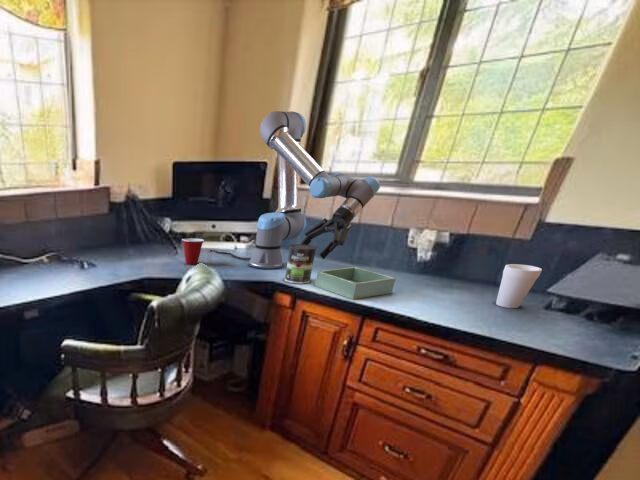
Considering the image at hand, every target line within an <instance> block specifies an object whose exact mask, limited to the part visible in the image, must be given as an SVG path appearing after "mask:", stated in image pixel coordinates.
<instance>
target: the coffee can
mask: <svg viewBox="0 0 640 480" xmlns="http://www.w3.org/2000/svg"><path fill="white" fill-rule="evenodd" d="M288 250H289V251H288V256H287V263H286V269H285V276H284V282H287V283H289V284H297V285H303V284H308V283H310V281H311V276H312V270H313V266H314V261H315V256H316V250H317V246H315V245H311V244H308V245H304V244H301V243H299V244H298V243H297V244H296V243H295V244H291V245H290V246H289V249H288Z"/></svg>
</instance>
